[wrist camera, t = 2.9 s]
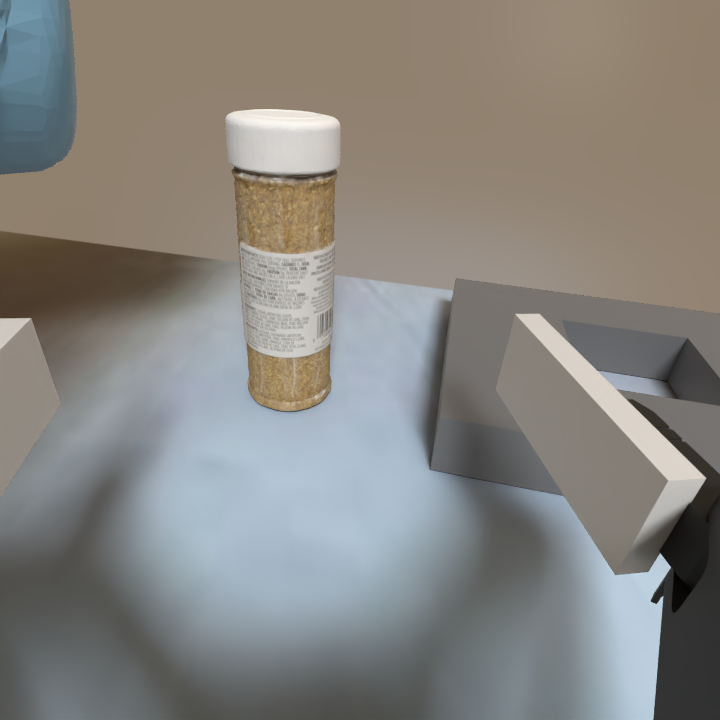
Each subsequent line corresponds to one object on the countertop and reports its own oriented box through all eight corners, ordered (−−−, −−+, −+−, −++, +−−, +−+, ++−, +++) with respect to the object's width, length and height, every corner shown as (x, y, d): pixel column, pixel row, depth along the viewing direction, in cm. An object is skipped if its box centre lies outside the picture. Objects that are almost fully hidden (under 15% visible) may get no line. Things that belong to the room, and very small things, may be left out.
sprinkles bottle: (282, 359, 28) (273, 105, 21) (347, 383, 27) (362, 116, 19) (229, 396, 25) (197, 109, 18) (300, 427, 23) (296, 122, 16)
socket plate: (430, 469, 21) (443, 401, 19) (448, 316, 35) (457, 267, 33) (947, 570, 18) (1025, 502, 16) (748, 360, 32) (778, 309, 30)
